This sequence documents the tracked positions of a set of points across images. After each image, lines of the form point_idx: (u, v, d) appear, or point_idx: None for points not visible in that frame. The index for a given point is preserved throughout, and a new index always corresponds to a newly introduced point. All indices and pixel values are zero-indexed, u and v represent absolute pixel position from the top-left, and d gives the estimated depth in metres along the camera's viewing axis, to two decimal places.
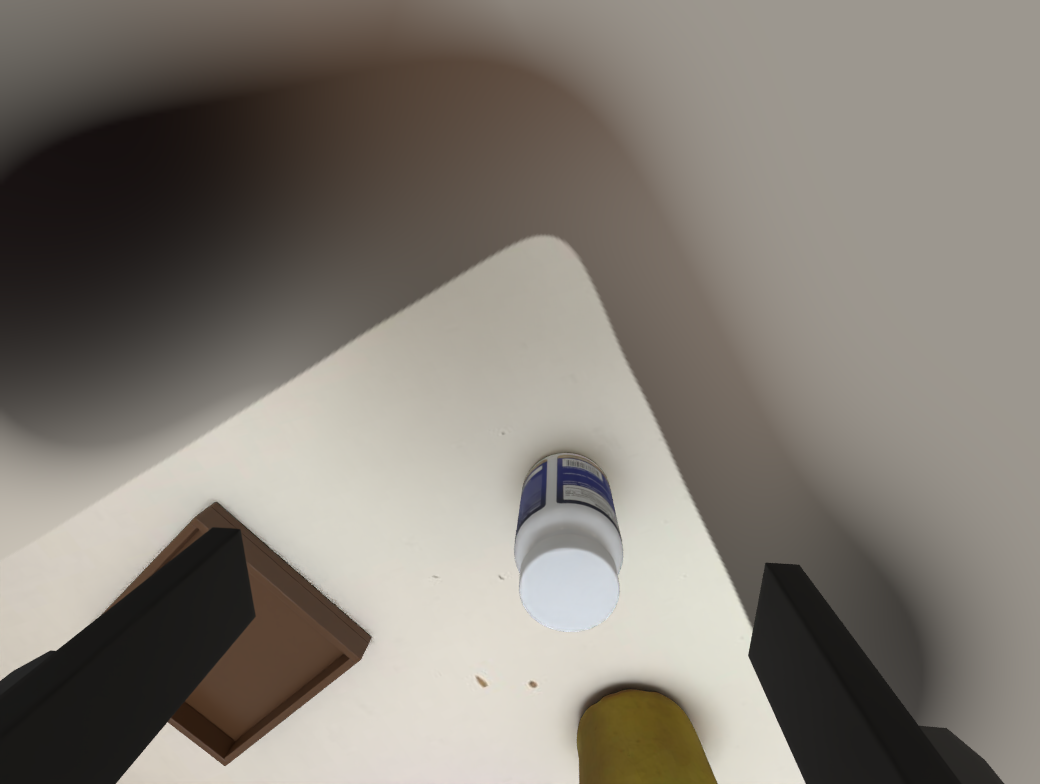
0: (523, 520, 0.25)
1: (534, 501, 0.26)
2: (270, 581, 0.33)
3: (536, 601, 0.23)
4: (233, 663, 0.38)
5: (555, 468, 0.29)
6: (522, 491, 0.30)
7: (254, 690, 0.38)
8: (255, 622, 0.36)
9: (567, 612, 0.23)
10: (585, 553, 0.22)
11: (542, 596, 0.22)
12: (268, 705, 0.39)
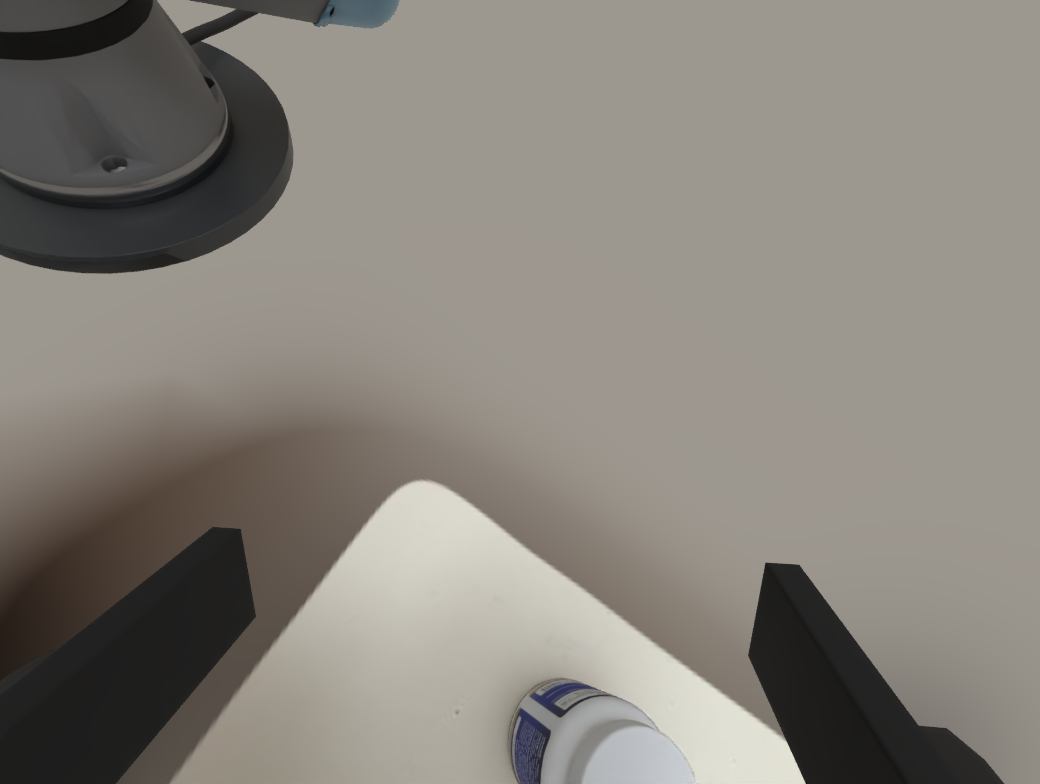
0: (538, 773, 0.19)
1: (536, 744, 0.21)
2: None
3: None
4: None
5: (534, 703, 0.24)
6: (515, 767, 0.23)
7: None
8: None
9: None
10: (625, 732, 0.18)
11: None
12: None
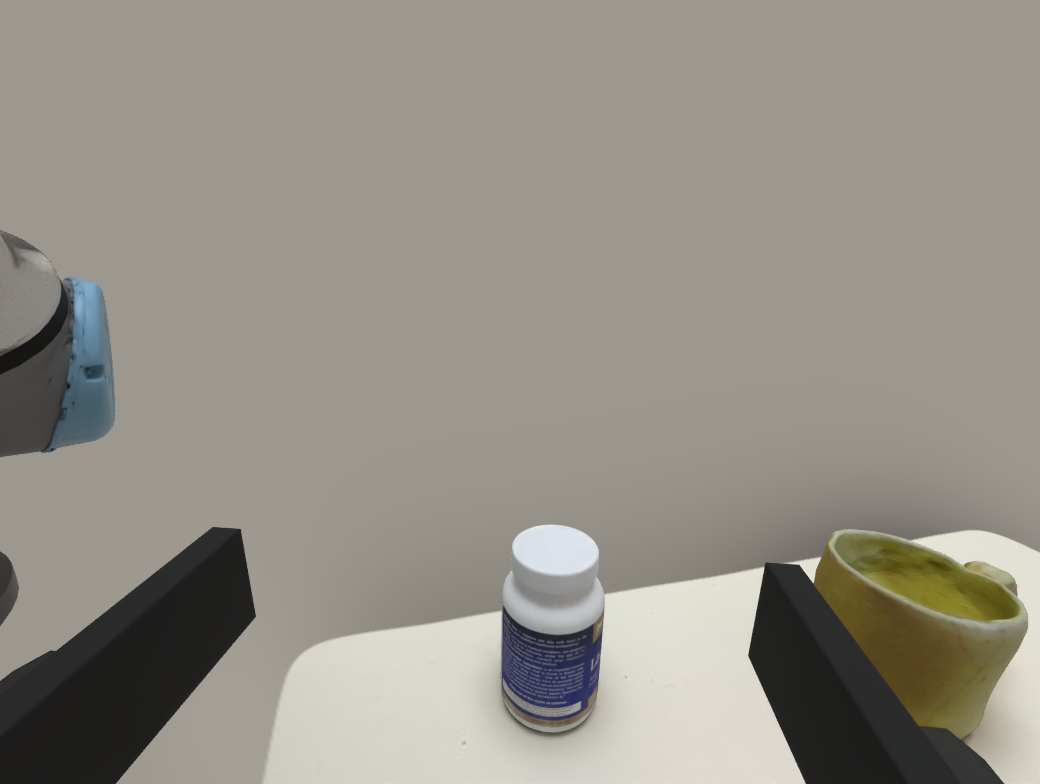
0: (515, 625, 0.25)
1: (506, 631, 0.26)
2: None
3: (561, 565, 0.24)
4: None
5: (501, 657, 0.28)
6: (526, 704, 0.26)
7: None
8: None
9: (576, 551, 0.26)
10: (520, 534, 0.27)
11: (557, 561, 0.25)
12: None
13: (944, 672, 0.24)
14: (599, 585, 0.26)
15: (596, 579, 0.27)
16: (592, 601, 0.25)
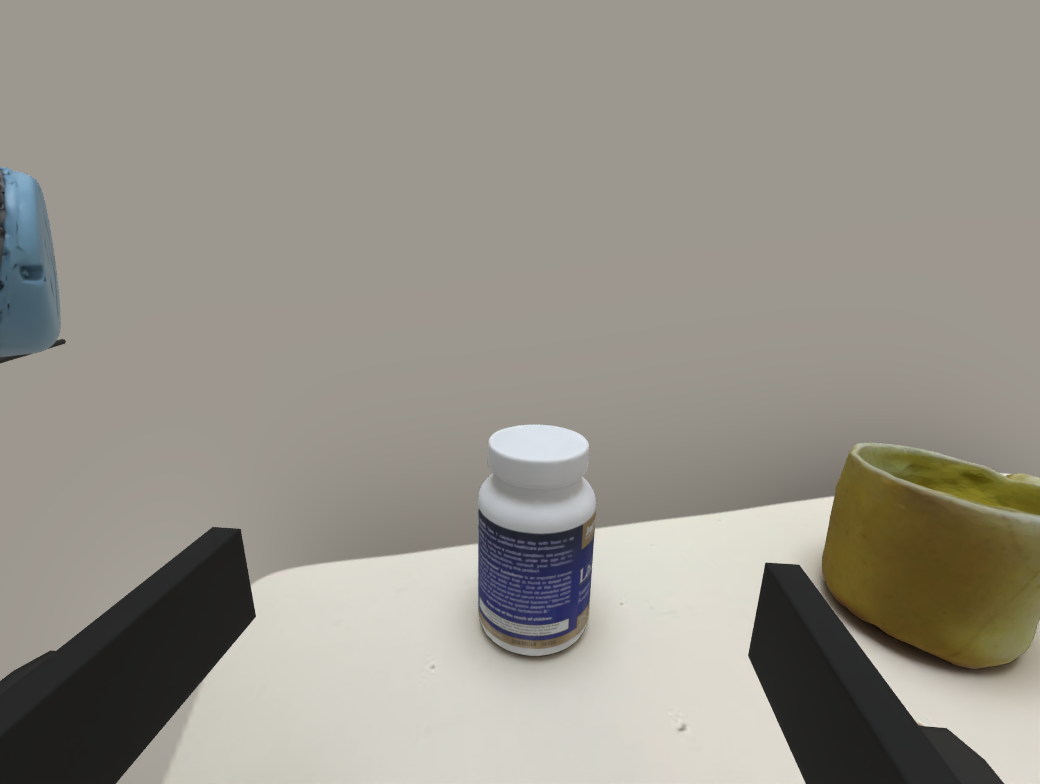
0: (491, 527, 0.21)
1: (482, 537, 0.22)
2: None
3: (544, 454, 0.21)
4: None
5: None
6: (505, 622, 0.22)
7: None
8: None
9: (563, 443, 0.22)
10: (499, 431, 0.23)
11: (540, 451, 0.21)
12: None
13: (993, 577, 0.21)
14: (589, 487, 0.23)
15: (586, 482, 0.23)
16: (581, 500, 0.22)
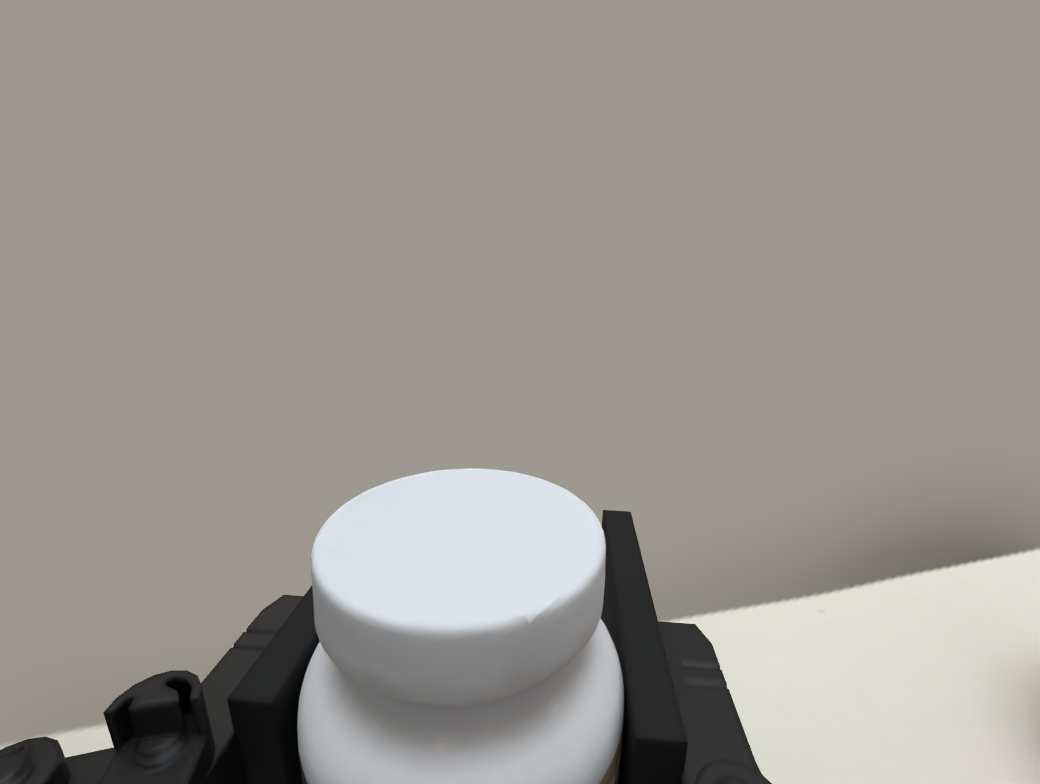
0: None
1: None
2: None
3: (465, 588, 0.06)
4: None
5: None
6: None
7: None
8: None
9: (531, 536, 0.08)
10: (370, 490, 0.09)
11: (454, 573, 0.07)
12: None
13: None
14: (607, 646, 0.08)
15: (598, 625, 0.09)
16: (584, 712, 0.07)
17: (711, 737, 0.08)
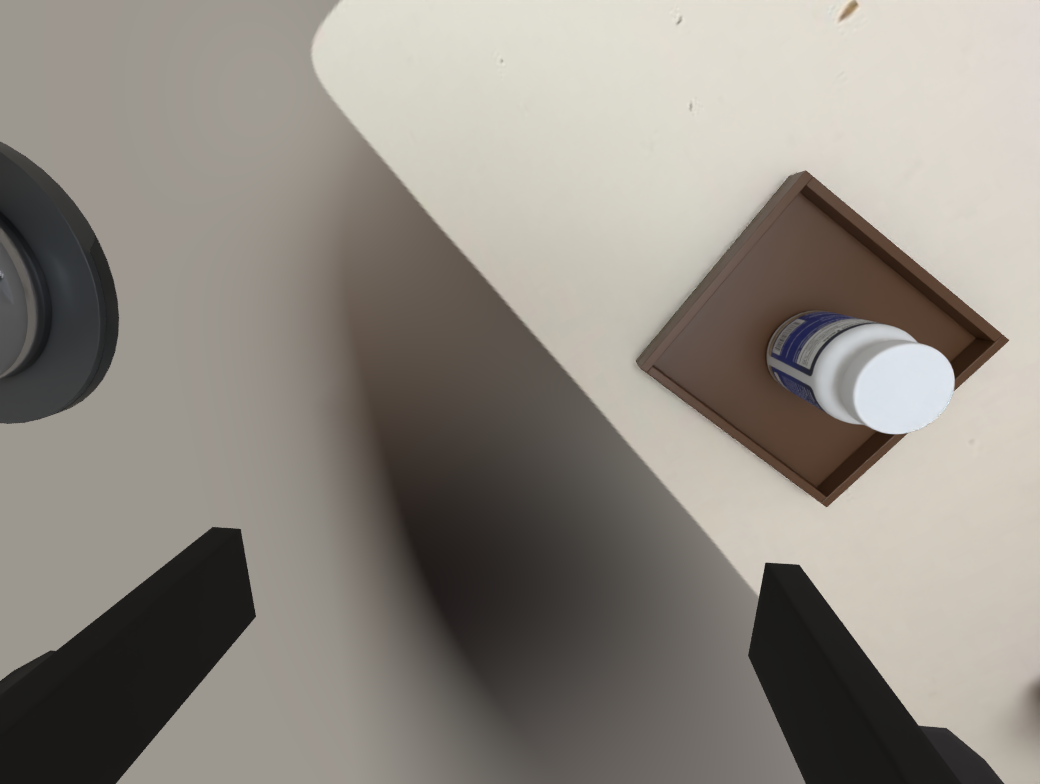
0: (820, 408, 0.28)
1: (805, 393, 0.28)
2: (706, 288, 0.31)
3: (904, 421, 0.24)
4: None
5: (779, 362, 0.31)
6: None
7: (885, 314, 0.32)
8: (779, 314, 0.33)
9: (927, 395, 0.24)
10: (866, 369, 0.24)
11: (901, 415, 0.24)
12: (908, 296, 0.32)
13: None
14: None
15: None
16: None
17: None
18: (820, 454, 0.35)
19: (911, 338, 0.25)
